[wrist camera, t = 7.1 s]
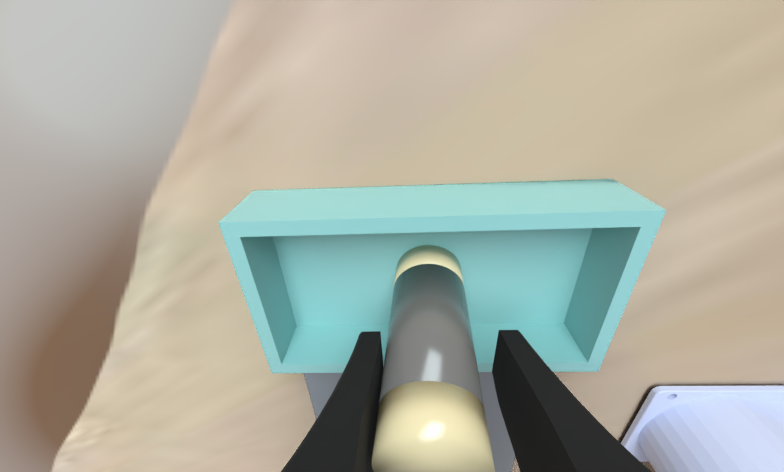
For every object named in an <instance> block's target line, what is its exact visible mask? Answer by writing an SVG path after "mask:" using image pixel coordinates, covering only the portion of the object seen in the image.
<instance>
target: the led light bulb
mask: <svg viewBox="0 0 784 472" xmlns="http://www.w3.org/2000/svg"><path fill="white" fill-rule="evenodd" d="M372 469H373V471H374V472H495V468H494V462H493V456H492V450H491V444H490V438H489V432H488V426H487V420H486V414H485V408H484V402H483V396H482V390H481V384H480V378H479V372H478V367H477V361H476V355H475V349H474V343H473V337H472V331H471V325H470V319H469V313H468V307H467V301H466V295H465V289H464V283H463V277H462V271H461V266H460V263H459V261H458V259H457V258H456V256H455V255H454V254H453V253H451V252H450V251H448V250H447V249H445V248H442V247H439V246H434V245H423V246H418V247H415V248H412V249H410V250H408V251H407V252H406V253H404V254H403V255H402V257H401V258H400V259H399V261H398V263H397V267H396V273H395V281H394V289H393V297H392V305H391V313H390V321H389V329H388V337H387V344H386V352H385V360H384V368H383V376H382V384H381V392H380V400H379V408H378V415H377V423H376V431H375V439H374V447H373V455H372Z"/></svg>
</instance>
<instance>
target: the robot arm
mask: <svg viewBox="0 0 784 472" xmlns="http://www.w3.org/2000/svg"><path fill="white" fill-rule="evenodd" d="M383 368H384V366H383V355H382V343H381V332H380V331H368V332H361V333H360V334H359V337H358V340H357V342H356V345H355V347H354V350H353V352H352V354H351V357H350V359H349V361H348V363H347V365H346V367H345V369H344V371H343V373H342V375H341V377H340V379H339V381H338V383H337V385H336V387H335V389H334V391H333V392H332V394H331V396H330V398H329V399H328V401H327V403H326V405H325V406H324V408H323V410H322V411H321V413H320V415H319V417H318V418H317V420H316V421H315V423H314V425H313V426H312V428H311V429H310V431H309V432H308V434H307V435H306V437H305V439H304V440H303V441H302V443H301V444H300V446H299V447H298V449H297V450H296V452H295V453H294V455H293V456H292V457H291V459H290V460H289V462H288V463H287V464H286V466H285V467H284V468H283V470H282V471H281V472H374V471H373V469H372V455H373V447H374V439H375V431H376V423H377V415H378V408H379V400H380V392H381V384H382V376H383ZM492 374H493V379H494V384H495V389H496V394H497V398H498V403H499V406H500V410H501V413H502V416H503V419H504V422H505V425H506V428H507V431H508V435H509V438H510V441H511V444H512V447H513V450H514V453H515V456H516V459H517V462H518V465H519V468H520V472H651V471H650V470H649V469H648V468H647V467H646V466H645V465H643V464H642V463H641V462H650V463H651V465H652V467H653V468H654V470H655V472H784V385H765V386H657V387H655V388H653V389H652V390H651V391H650V393H649V395H648V396H647V398H646V400H645V402H644V403H643V405H642V407H641V409H640V410H639V412H638V414H637V416H636V417H635V419H634V421H633V423H632V424H631V426H630V428H629V430H628V431H627V433H626V435H625V437H624V438H623V440H622V442H621V443H620V442H618V441H617V440H616V439H615V438H614V437H613V436H612V435H611V434H610V433H609V432H608V431H607V430H606V429H605V428H604V427H603V426H602V425H601V424H600V423H599V422H598V421H597V420H596V419H595V418H594V417H593V416H592V415H591V413H590V412H589V411H588V410H587V409H586V408H585V407H584V406H583V405H582V404H581V403H580V402H579V401H578V400H577V399H576V398H575V397H574V395H573V394H572V393H571V392H570V391H569V390H568V389H567V388H566V386H565V385H564V384H563V383H562V382H561V381H560V380H559V379H558V377H557V376H556V375H555V374H554V373H553V372H552V370H551V369H550V368H549V367H548V366H547V365H546V363H545V362H544V361H543V360H542V359H541V357H540V356H539V355H538V354H537V352H536V351H535V350H534V349H533V347H532V346H531V345H530V344H529V342H528V341H527V340H526V339H525V337H524V336H523V335H522V334H521V332H520V331H518V330H499V332H498V338H497V344H496V350H495V356H494V362H493V368H492Z"/></svg>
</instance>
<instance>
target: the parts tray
mask: <svg viewBox="0 0 784 472" xmlns="http://www.w3.org/2000/svg"><path fill="white" fill-rule="evenodd" d="M665 212H666V210H665V209H664V208H662V207H660V206H659V205H657V204H655V203H653V202H652V201H650V200H648V199H646V198H645V197H643V196H641V195H640V194H638V193H636V192H634V191H633V190H631V189H629V188H627V187H626V186H624V185H622V184H621V183H619V182H617V181H615V180H614V179H598V180H567V181H537V182H506V183H475V184H445V185H414V186H383V187H353V188H322V189H291V190H260V191H253V192H252V193H251V194H249V195H248V196H247V197H246V198H245V199H244V200H243V201H242V202H241V203H239V204H238V205H237V206H236V207H235V208H234V209H233V210H232V211H231V212H229V213H228V214H227V215H226V216H225V217H224V218H223V219H222V220H221V221H219V222H218V223H219V226H220V229H221V232H222V234H223V237H224V240H225V243H226V246H227V248H228V251H229V254H230V257H231V260H232V263H233V265H234V268H235V271H236V274H237V277H238V279H239V282H240V285H241V288H242V291H243V294H244V296H245V299H246V302H247V305H248V308H249V310H250V313H251V316H252V319H253V322H254V324H255V327H256V330H257V333H258V336H259V339H260V341H261V344H262V347H263V350H264V353H265V355H266V358H267V361H268V364H269V367H270V370H271V372H272V373H343V371H344V369H345V367H346V365H347V363H348V361H349V359H350V357H351V354H352V352H353V350H354V347H355V345H356V342H357V340H358V337H359V334H360V333H361V332H368V331H380V332H381V343H382V355H383V366H384V360H385V352H386V344H387V337H388V329H389V321H390V313H391V305H392V297H393V289H394V281H395V273H396V267H397V263H398V261H399V259H400V258H401V257H402V255H403V254H404V253H406V252H407V251H408V250H410V249H412V248H415V247H418V246H423V245H434V246H439V247H442V248H445V249H447V250H448V251H450V252H451V253H453V254H454V255H455V256H456V258H457V259H458V261H459V263H460V266H461V271H462V277H463V283H464V289H465V295H466V301H467V307H468V313H469V319H470V325H471V331H472V337H473V343H474V349H475V355H476V361H477V367H478V372H492V368H493V362H494V356H495V350H496V344H497V338H498V332H499V330H518V331H520V332H521V334H522V335H523V336H524V337H525V339H526V340H527V341H528V342H529V344H530V345H531V346H532V347H533V349H534V350H535V351H536V352H537V354H538V355H539V356H540V357H541V359H542V360H543V361H544V362H545V363H546V365H547V366H548V367H549V368H550V369H551V370H552V372H594V371H599V368H600V366H601V364H602V361H603V359H604V357H605V354H606V352H607V349H608V347H609V345H610V342H611V340H612V338H613V335H614V333H615V330H616V328H617V326H618V323H619V321H620V319H621V316H622V314H623V312H624V309H625V307H626V304H627V302H628V300H629V297H630V295H631V293H632V290H633V288H634V285H635V283H636V281H637V278H638V276H639V274H640V271H641V269H642V266H643V264H644V262H645V259H646V257H647V255H648V252H649V250H650V248H651V245H652V243H653V240H654V238H655V236H656V233H657V231H658V229H659V226H660V224H661V221H662V219H663V217H664V214H665Z"/></svg>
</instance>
